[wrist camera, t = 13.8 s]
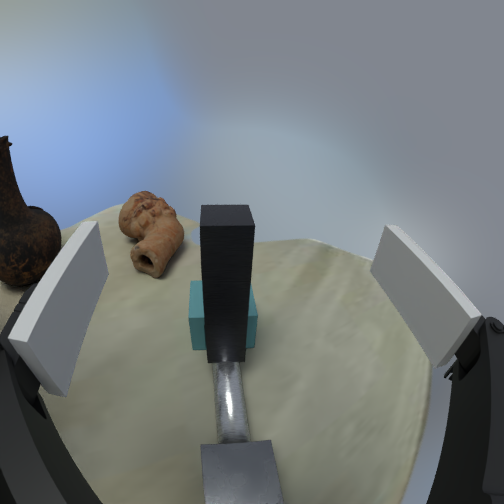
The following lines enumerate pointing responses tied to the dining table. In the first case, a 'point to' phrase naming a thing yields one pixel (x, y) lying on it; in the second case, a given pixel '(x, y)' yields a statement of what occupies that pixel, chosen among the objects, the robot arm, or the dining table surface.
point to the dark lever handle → (227, 309)
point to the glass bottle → (23, 230)
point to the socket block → (199, 325)
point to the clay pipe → (151, 231)
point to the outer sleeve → (240, 473)
